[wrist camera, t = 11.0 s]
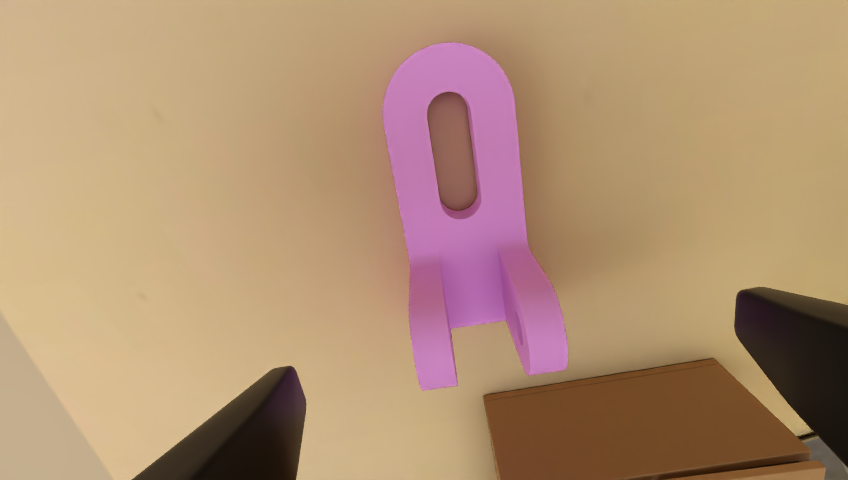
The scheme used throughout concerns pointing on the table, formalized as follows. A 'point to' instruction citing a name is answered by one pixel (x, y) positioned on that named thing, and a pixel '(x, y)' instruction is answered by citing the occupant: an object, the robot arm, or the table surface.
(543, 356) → the bracket
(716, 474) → the flap
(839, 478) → the smartphone
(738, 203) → the table surface
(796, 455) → the carton
